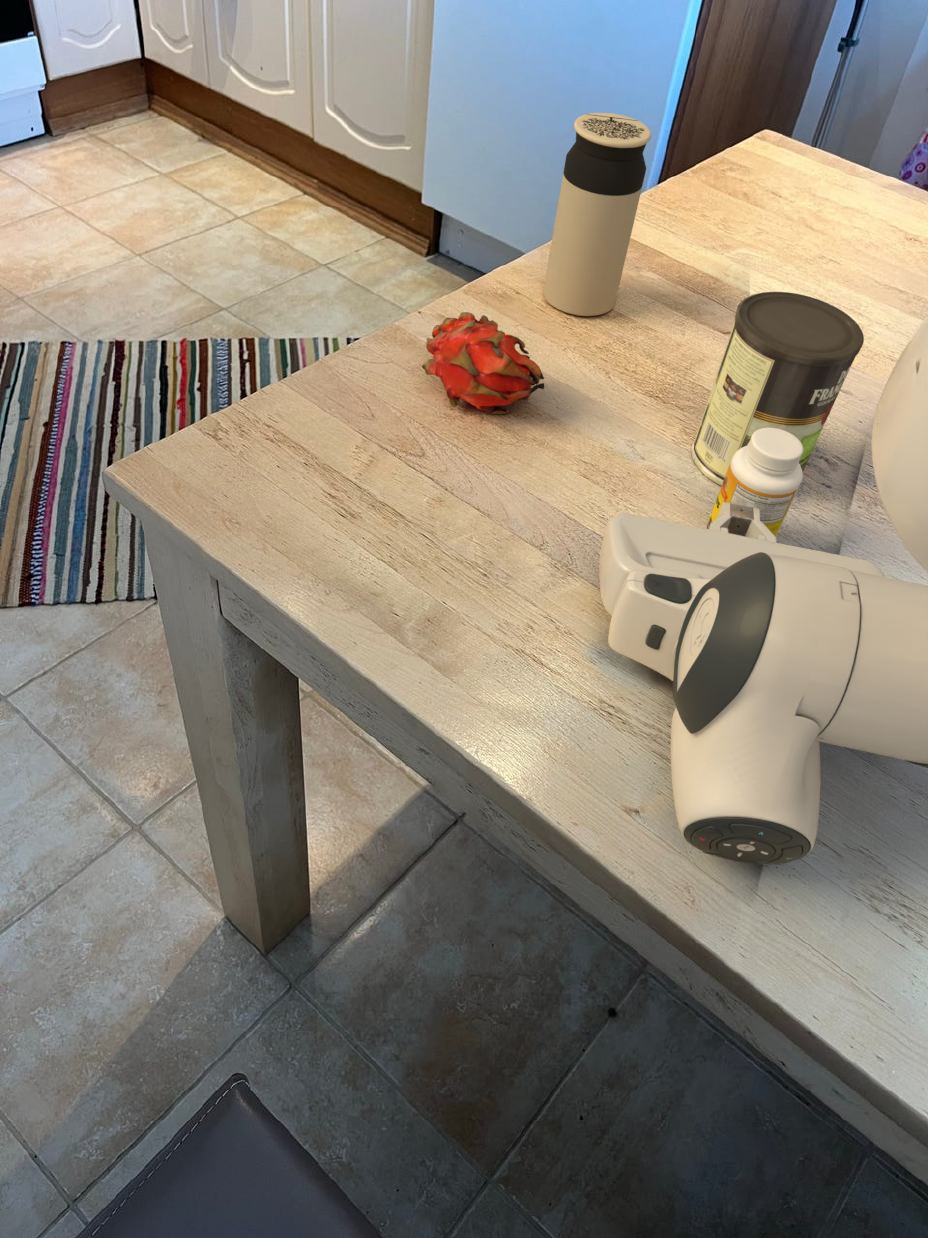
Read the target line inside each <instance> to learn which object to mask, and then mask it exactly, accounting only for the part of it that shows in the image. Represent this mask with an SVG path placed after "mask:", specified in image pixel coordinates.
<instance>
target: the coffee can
mask: <svg viewBox="0 0 928 1238" xmlns="http://www.w3.org/2000/svg"><path fill="white" fill-rule="evenodd" d="M864 337H865V335H864V333H863V331H862V328H861V327H860V324H858V323H857V321H855V320H854V319H853V317H852V316H850V315H849V314H848V313H846V312H845V311H843V310H842V309H840V308H838V307H836V306H835V305H832V304H831V303H829V302H826V301H823V300H821V299H819V298H815V297H812V296H809V295H805V294H801V293H794V292H790V291H789V292H788V291H763V292H759V293H754V294H751V295H749V296H746V297H745V298H744V299H743V300H741V301H740V302H739V304H738V305H737V308H736V311H735V314H734V322H733V325H732V327H731V330H730V334H729V336H728V340H727V343H726V346H725V349H724V351H723V355H722V358H721V361H720V364H719V366H718V369H717V373H716V375H715V379H714V382H713V385H712V386H711V391H710V393H709V397H708V400H707V402H706V404H705V405H706V406H705V409H704V411H703V414H702V418H701V420H700V424H699V426H698V429H697V432H696V435H695V437H694V439H693V441H692V443H691V446H690V447H691V451H690V452H691V458H692V461H693V463H694V464H695V466H696V467H697V468H698V470H699V471H700V472H701V473H702V474H703V475H704V476H705V477H706V478H707V479H709V480H711V481H712V482H714V483H715V484H717V485H719V486H720V487H721V486H722V484H723V481H724V478H725V476H726V473H727V470H728V468H729V465H730V462H731V460H732V458H733V456H734V454H735V453H736V452H737V451H738V450H739V449H741V448H742V447H745V446H747V445H748V443H749V442H750V439H751V437H752V435H753V433H754V432H755V431H757V430H759V429H762V428H777V429H781V430H784V431H786V432H789V433H790V434H792V435H794V436H795V437H796V438H797V439H798V440H799V441H800V442H801V444H802V446H803V453H802V455H801V458H800V460H799V464H800V466H801V469H802V472H804V471H805V468H806V466H807V464H808V461H809V459H810V458H811V455H812V453H813V451H814V449H815V446H816V444H817V442H818V440H819V437H820V435H821V433H822V431H823V429H824V427H825V424H826V422H827V420H828V418H829V416H830V414H831V411H832V409H833V406H834V404H835V403H836V400H837V398H838V396H839V394H840V391H841V389H842V387H843V385H844V384H845V381H846V378H847V376H848V374H849V372H850V369H851V367H852V365H853V362H854V361H855V359H856V356H857V355H858V354H859V352H860V351H861V349H862V347H863V345H864V342H865V338H864Z"/></svg>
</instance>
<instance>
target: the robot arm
mask: <svg viewBox="0 0 928 1238" xmlns="http://www.w3.org/2000/svg"><path fill="white" fill-rule="evenodd" d="M871 459H872V460H871V461H872V468H873V474H874V475H873V476H874V481H875V485H876V489H877V493H878V496H879V499H880V502H881V505H882V507H883V509H884V512H885V514H886V516H887V518H888V520H889V523H890V524H891V526H892V528H893V530H894V533H896V535H897V536H898V538H899V540H900V541H901V543H902V544H903V546H904V547H905V548H906V550H907V552H909V554H910V555H911V557H912V558H914V560H915V561H916V562H917V563H918V564H919V566H921V568H922V569H923V570H924V571H925V572H926V573H928V314H927V315H926V316H925V318H924V319H923V320H922V321H921V323H920V325H919V326H918V328H917V329H916V330H915V332H914V333H913V334H912V336H911V338H910V339H909V341H908V342H907V343H906V345H905V347H904V349H903V350H902V352H901V354H900V356H899V357H898V359H897V361H896V363H895V365H894V367H893V368H892V370H891V373H890V374H889V377H888V378H887V381H886V383H885V386H884V388H883V390H882V393H881V395H880V398H879V401H878V404H877V405H876V410H875V414H874V418H873V424H872V431H871ZM598 571H599V572H598V573H599V575H598V577H599V591H600V597H601V601H602V605H603V607H604V609H605V610H606V612H607V613H608V614H609V616H611V618H610V622H609V627H608V638H607V642H608V643H607V644H608V646H609V647H610V648H611V649H612V650H613V651H614V652H616V653H618V654H620V655H622V656H624V657H626V658H629V659H631V660H633V661H635V662H637V663H639V664H641V665H644V666H645V667H647V668H649V669H651V670H653V671H655V672H657V673H659V674H660V675H662V676H664V677H665V678H667V679H669V680H670V681H672V699H673V702H674V706H675V709H674V710H673V714H672V717H671V724H670V725H671V726H670V769H671V770H670V773H671V774H670V775H671V786H672V797H673V803H674V804H673V805H674V811H675V816H676V821H677V825H678V828H679V832H680V834H681V836H682V837H683V839H684V840H685V841H686V842H687V843H688V844H689V845H691V846H692V847H694V848H696V849H697V850H699V851H700V852H702V853H704V854H707V855H709V856H713V857H716V858H719V859H723V860H728V861H732V862H738V863H743V864H748V865H755V866H762V865H765V866H766V865H767V866H768V865H782V864H783V865H784V864H787V863H791V862H794V861H796V860H800V859H802V858H804V857H806V856H807V855H808V854H810V853H811V852H812V850H813V849H814V846H815V844H816V840H817V834H818V827H819V817H820V806H821V805H820V803H821V750H820V749H821V748H820V743H824V744H828V745H833V746H839V747H842V748H847V749H852V750H857V751H862V752H866V753H871V754H875V755H880V756H885V757H889V758H894V759H898V760H903V761H905V762H907V763H909V764H913V765H915V766H919V767H922V768H925V769H928V585H927V584H926V585H925V584H921V583H915V582H910V581H906V580H901V579H896V578H891V577H887V576H885V573H884V572H883V571H882V569H881V568H880V567H878V565H876V564H875V563H874V562H873V561H871V560H867V559H863V558H857V557H852V556H846V555H841V554H836V553H832V552H826V551H822V550H816V549H811V548H806V547H801V546H796V545H790V544H785V543H781V542H778V541H777V536H776V537H775V536H774V535H773V533H772V532H771V531H770V530H769V529H768V528H767V527H766V526H765V525H764V524H763V523H762V522H760V509H758V508H751V507H746V506H741V505H736V504H732V503H727V502H723V503H722V505H721V508H720V510H719V513H718V517H717V519H716V520H715V521H714V522H712V523H711V524H710V526H709V529H706V528H704V527H699V526H693V525H689V524H685V523H684V524H683V523H678V522H674V521H669V520H664V519H658V518H653V517H648V516H642V515H638V514H633V513H629V512H620V513H618V514H616V515H614V516H612V517H610V519H609V520H608V522H607V524H606V527H605V531H604V533H603V538H602V541H601V545H600V553H599V568H598Z"/></svg>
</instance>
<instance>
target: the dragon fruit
mask: <svg viewBox="0 0 928 1238" xmlns="http://www.w3.org/2000/svg"><path fill="white" fill-rule="evenodd" d="M498 328H499V324H498V323H497V321H494V320H493V319H492V320H489V318H488V316H487V315H482V316H481V317H480V319H479V320H478V319H477V318H476V316H475V315H474V313H472V312H469V311H463V312H460V314H459V316H458V318H456V317H446V318H445V319H444V320H443V321H442V323H439V324H436V325H435V326H434V327H433V329H432V331H431V336H432V338H431V337H427V338H426V342H425V348H426V351H427V352H428V353H430V354H431V355H432V358H430V359H427V360H426V361H425V362H424V363H423V364H422V365H421V368H422V369H423V370H424V372H425V375H427V376H435V377H439V379H440V380H441V382H442V385H443V387H444V389H445V392H446V395H447V398H448V401H449V403H450V405H451V406H452V407H457V406H459V405H460V404H461V400H464V401H465V402H467V403H469V404H471V405H472V406H473V407H475V408H476V409H477V410H479V411H481V412H482V411H483V412H485V414H487V415H503V414H509V413H512V411H511V410H510V409H507V408H505V407H503V406H509V405H511V404H512V403H513V402H519V401H527V402H528V401H529V399H530V397H531V395H532V394H533V393H535V392H536V391H537V390H538V389H539V390H544V389H545V383H544V382H542V383H540V381H541V380H544V379H545V377H544V375H543V372H542V370H541V367H540V366H539V364H537V363H536V362H535V360H533V359H531V356H529V354H530V353H529V351H528V350H526V349H525V348H526V344H525V343H524V341H523V340H522V339H520V337H518V336H515V335H512V334H506V333H505V331H503V330H498ZM516 345H518V347H519V350H520V351H521V353H523V354H521V353H520V352H519V351H518V350H517V349H516Z"/></svg>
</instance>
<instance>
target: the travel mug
mask: <svg viewBox="0 0 928 1238" xmlns="http://www.w3.org/2000/svg"><path fill="white" fill-rule="evenodd" d="M573 127H574V130H575V142H574V143H573V145H572V146H571V148H570V149H569V150H568V152H567V153H566V156H565V161H564V166H563V172H562V179H561V185H560V191H559V197H558V202H557V208H556V212H555V213H556V214H555V219H554V226H553V232H552V237H551V243H550V249H549V254H548V261H547V267H546V271H545V272H546V273H545V279H544V283H543V284H544V285H543V290H542V294H543V297H544V299H545V301H546V302H548V304H549V305H551V306H552V307H554V308H555V309H557V310H559V311H562V312H564V313H566V314H568V315H569V314H570V315H574V316H578V317H591V316H599V315H604V314H607V313H609V312H610V311H611V310H612V309H613V308H614V307H615V304H616V301H617V297H618V293H619V287H620V284H621V280H622V275H623V272H624V267H625V262H626V258H627V254H628V249H629V245H630V241H631V237H632V232H633V228H634V224H635V219H636V214H637V211H638V206H639V202H640V198H641V194H642V189H643V186H644V181H645V176H646V172H647V164H646V160H645V157H644V151H645V148H646V145H647V144H648V143H649V142H650V141H651V139H652V131H651V129H650V128H649V127H648V126H647V125H646V124H645V123H643V122H641V121H640V120H637V119H635V118H633V117H631V116H627V115H622V114H619V113H613V112H589V113H584V114H582V115H580V116H578V117H577V118H576V119H575V121H574V123H573Z"/></svg>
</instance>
